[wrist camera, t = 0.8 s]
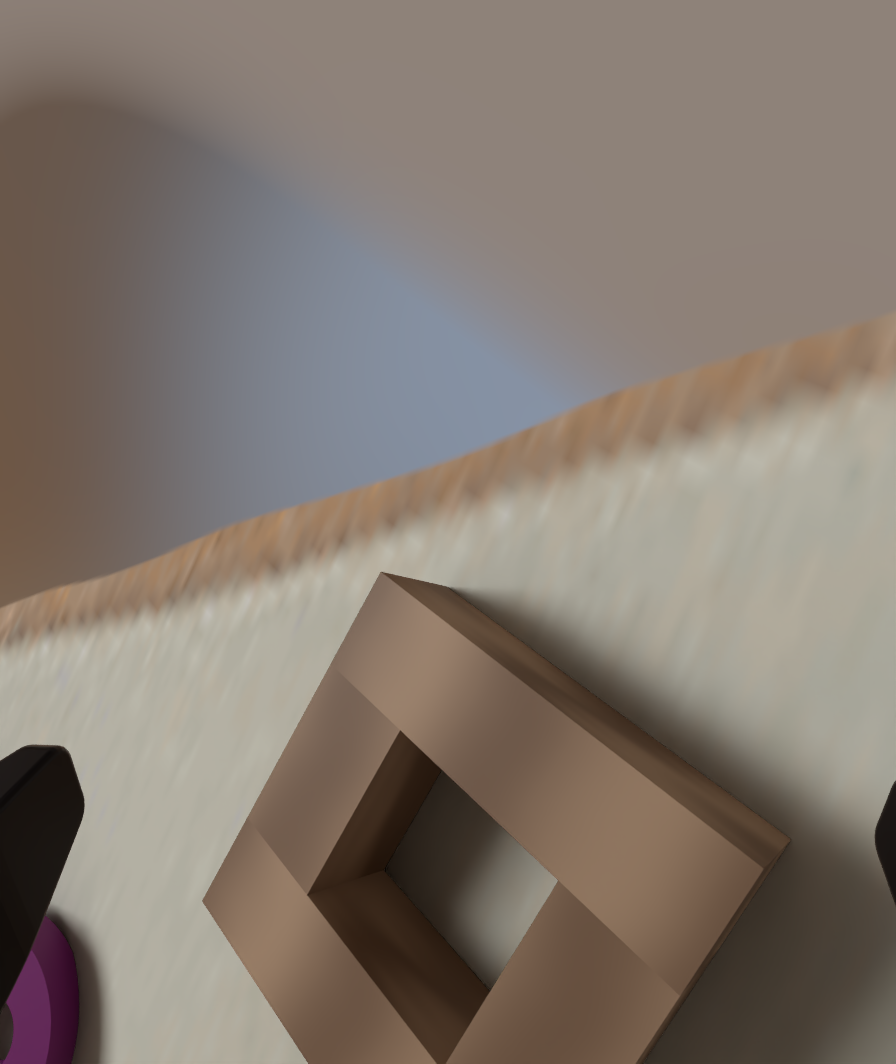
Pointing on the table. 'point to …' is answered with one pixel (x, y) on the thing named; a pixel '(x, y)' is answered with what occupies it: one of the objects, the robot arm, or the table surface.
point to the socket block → (522, 810)
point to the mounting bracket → (45, 1002)
